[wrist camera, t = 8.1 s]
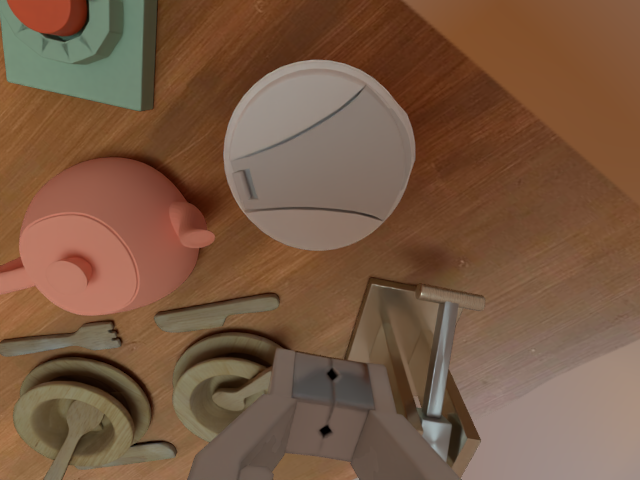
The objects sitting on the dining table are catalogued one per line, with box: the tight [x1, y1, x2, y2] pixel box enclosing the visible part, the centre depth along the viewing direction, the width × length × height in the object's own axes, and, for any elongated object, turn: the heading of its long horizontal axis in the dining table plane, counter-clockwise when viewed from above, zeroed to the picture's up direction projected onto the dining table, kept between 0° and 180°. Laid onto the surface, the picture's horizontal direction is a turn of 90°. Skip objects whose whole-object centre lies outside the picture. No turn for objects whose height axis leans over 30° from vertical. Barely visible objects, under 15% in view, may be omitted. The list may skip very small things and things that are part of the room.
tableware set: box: [0, 294, 283, 480], centre depth 37 cm, size 30×20×6 cm, turn 101°
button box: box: [0, 0, 157, 111], centre depth 24 cm, size 11×9×4 cm
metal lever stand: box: [344, 278, 481, 478], centre depth 31 cm, size 12×9×13 cm
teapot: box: [0, 157, 215, 316], centre depth 27 cm, size 12×18×10 cm
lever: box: [415, 283, 485, 462], centre depth 27 cm, size 12×5×2 cm, turn 167°
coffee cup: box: [223, 60, 415, 251], centre depth 22 cm, size 8×8×15 cm
